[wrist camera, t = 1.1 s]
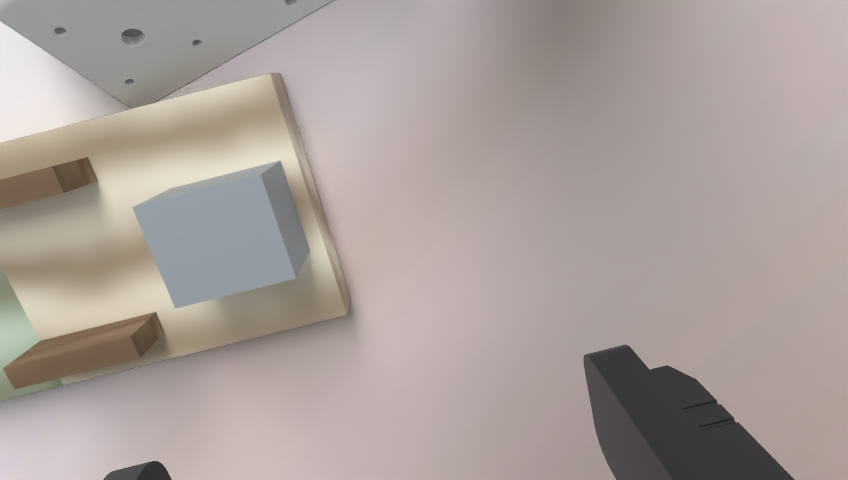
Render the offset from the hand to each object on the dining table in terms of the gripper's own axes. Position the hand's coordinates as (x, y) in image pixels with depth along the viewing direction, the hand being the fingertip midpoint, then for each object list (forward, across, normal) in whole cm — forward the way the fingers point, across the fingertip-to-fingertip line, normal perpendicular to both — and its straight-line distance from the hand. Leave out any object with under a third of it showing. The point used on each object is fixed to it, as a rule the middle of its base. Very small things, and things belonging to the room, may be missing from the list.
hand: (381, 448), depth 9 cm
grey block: (+25, +10, 0) cm, 27 cm away
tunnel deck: (+28, +23, 0) cm, 36 cm away
